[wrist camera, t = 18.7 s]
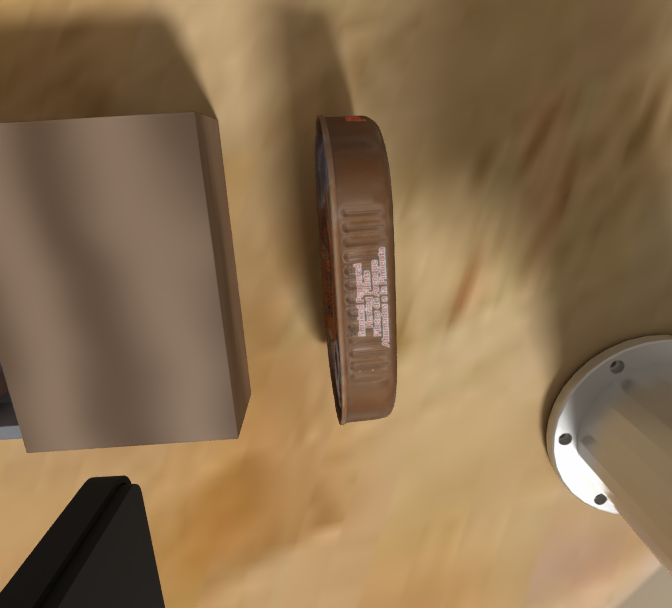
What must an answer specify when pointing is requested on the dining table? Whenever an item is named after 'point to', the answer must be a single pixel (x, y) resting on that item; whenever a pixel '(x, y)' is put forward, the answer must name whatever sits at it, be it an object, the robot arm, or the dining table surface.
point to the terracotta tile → (2, 384)
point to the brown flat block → (119, 283)
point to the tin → (357, 265)
